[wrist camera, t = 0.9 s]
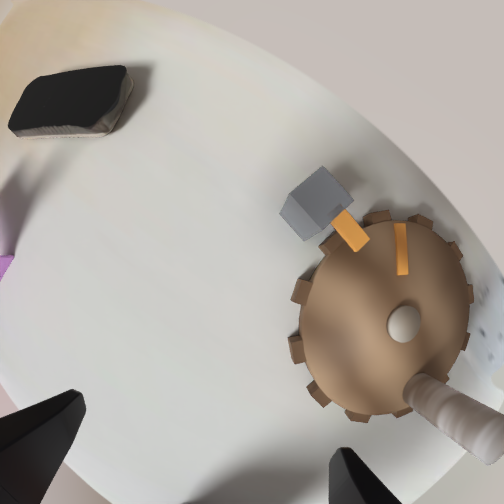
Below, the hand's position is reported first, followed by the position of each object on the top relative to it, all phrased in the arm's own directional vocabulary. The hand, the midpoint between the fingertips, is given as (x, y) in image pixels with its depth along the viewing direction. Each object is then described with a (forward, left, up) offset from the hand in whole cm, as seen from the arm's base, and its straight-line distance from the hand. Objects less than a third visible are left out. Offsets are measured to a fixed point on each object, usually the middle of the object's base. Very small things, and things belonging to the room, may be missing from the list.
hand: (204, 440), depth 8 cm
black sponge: (+28, +11, -15) cm, 34 cm away
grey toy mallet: (+7, -9, -15) cm, 19 cm away
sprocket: (-3, -14, -15) cm, 20 cm away
